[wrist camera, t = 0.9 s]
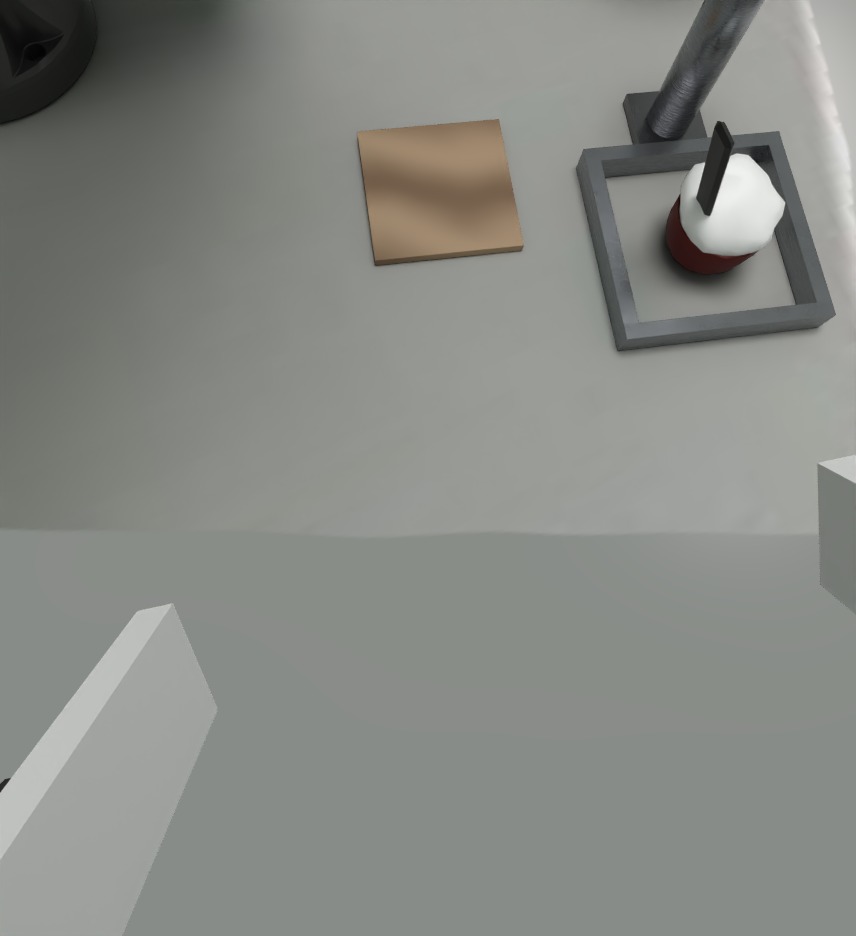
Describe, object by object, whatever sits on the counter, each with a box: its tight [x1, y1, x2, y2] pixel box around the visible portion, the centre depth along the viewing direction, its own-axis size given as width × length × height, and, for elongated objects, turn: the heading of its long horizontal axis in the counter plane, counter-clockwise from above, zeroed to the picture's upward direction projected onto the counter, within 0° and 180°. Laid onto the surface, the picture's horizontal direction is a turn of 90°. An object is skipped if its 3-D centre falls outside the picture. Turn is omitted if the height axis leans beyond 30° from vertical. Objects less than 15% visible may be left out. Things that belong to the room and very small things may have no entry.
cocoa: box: [666, 121, 785, 275], centre depth 38 cm, size 10×6×12 cm, turn 87°
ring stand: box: [576, 0, 836, 351], centre depth 35 cm, size 19×14×18 cm
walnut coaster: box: [357, 119, 524, 265], centre depth 43 cm, size 10×10×1 cm
